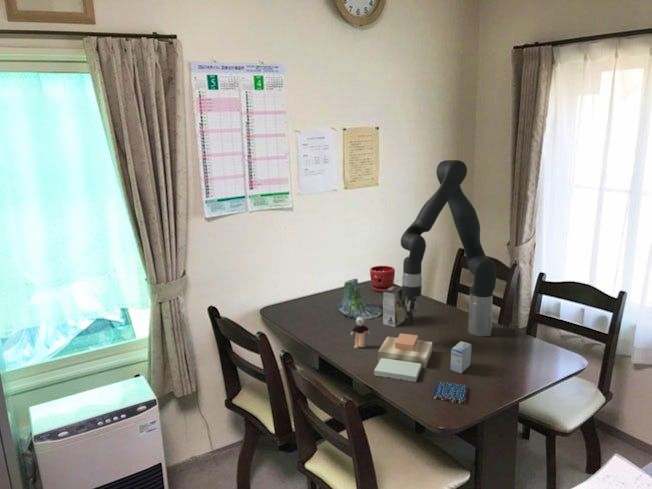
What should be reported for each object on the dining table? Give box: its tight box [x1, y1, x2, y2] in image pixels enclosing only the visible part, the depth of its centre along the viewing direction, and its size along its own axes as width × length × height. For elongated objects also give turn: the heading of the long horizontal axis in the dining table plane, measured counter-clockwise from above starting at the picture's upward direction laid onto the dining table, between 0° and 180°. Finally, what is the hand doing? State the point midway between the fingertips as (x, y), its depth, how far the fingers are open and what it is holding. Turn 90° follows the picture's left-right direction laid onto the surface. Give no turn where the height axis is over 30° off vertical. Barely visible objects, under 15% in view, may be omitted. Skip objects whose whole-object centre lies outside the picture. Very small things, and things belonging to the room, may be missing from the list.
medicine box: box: [450, 341, 472, 374], centre depth 180 cm, size 8×4×9 cm, turn 141°
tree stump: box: [338, 278, 383, 321], centre depth 235 cm, size 19×21×19 cm
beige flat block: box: [377, 336, 433, 369], centre depth 190 cm, size 18×14×4 cm
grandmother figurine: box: [350, 317, 371, 349], centre depth 199 cm, size 8×4×13 cm, turn 106°
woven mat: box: [432, 380, 469, 404], centre depth 164 cm, size 10×11×2 cm
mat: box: [373, 358, 422, 383], centre depth 179 cm, size 15×10×2 cm, turn 69°
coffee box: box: [382, 284, 406, 328], centre depth 221 cm, size 9×6×16 cm
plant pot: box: [369, 265, 396, 293], centre depth 266 cm, size 13×13×12 cm
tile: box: [395, 332, 419, 351], centre depth 191 cm, size 7×9×2 cm
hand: (410, 323), depth 199 cm, fingers closed
